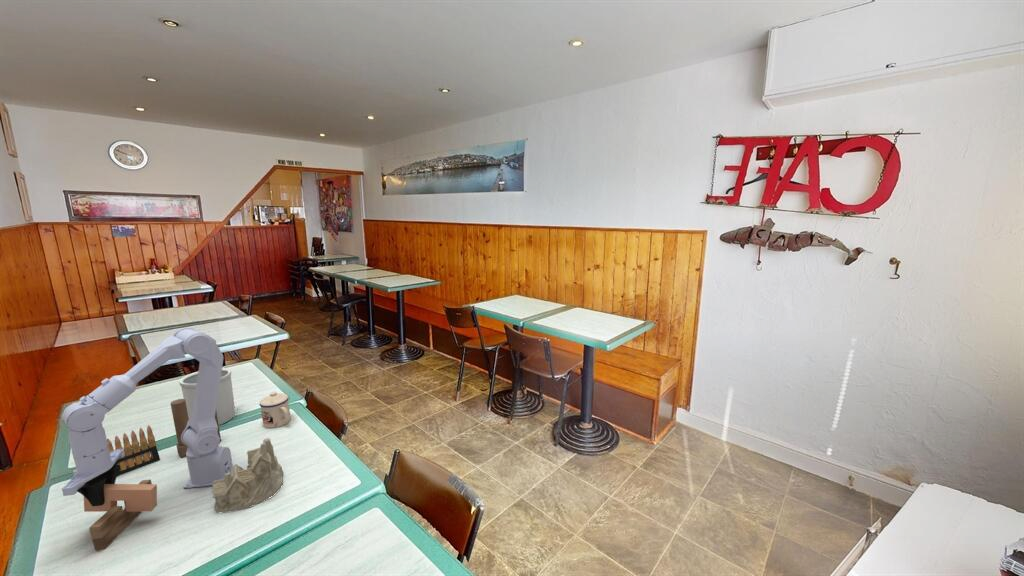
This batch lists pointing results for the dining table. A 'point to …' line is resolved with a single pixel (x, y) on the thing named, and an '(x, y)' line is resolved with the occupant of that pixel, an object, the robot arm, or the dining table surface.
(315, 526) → the dining table surface
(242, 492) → the ceramic cottage
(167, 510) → the dining table surface
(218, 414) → the utensil holder
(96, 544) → the slotted base plate
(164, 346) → the robot arm
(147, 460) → the ammunition clip
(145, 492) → the cross plate
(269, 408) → the teacup with lid
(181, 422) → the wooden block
